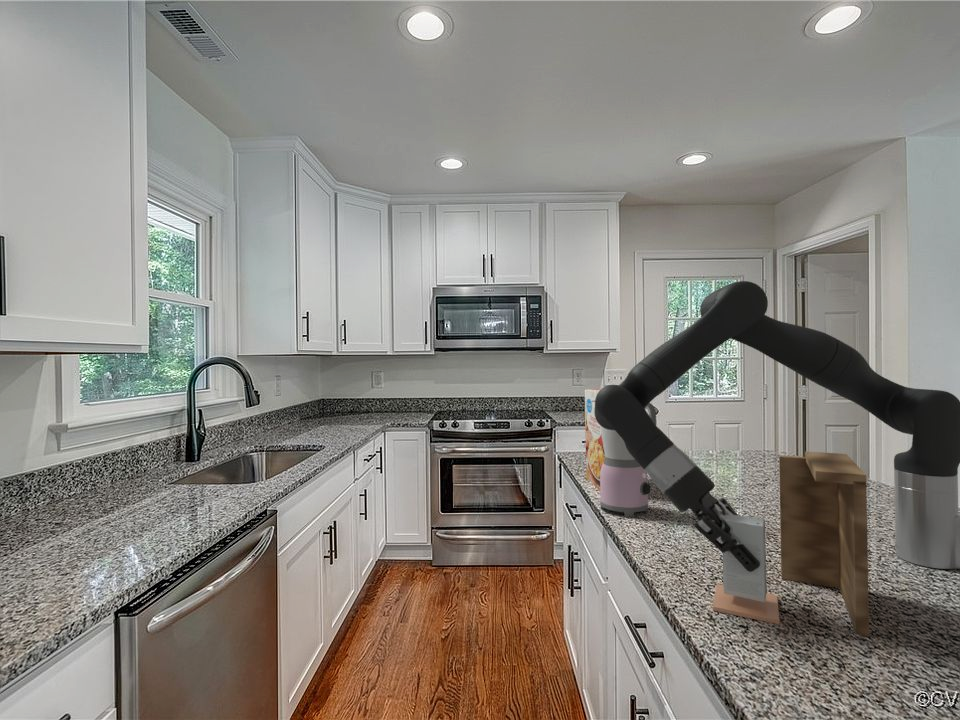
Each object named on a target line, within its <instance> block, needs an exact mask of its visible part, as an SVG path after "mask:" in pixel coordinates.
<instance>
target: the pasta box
mask: <svg viewBox="0 0 960 720" xmlns="http://www.w3.org/2000/svg"><path fill="white" fill-rule="evenodd" d="M601 389H602V388H601ZM601 389H599V388H598V389H597V388H596V389H595V388H594V389H584V418H585V419H584V421H585V423H584V425H585V426H584V427H585V428H584V429H585V431H584V432H585V478H586V479H587V480H588V481H589V482H590V483H591V484H592V485H593V486H594V487H595V488H596V489H597V490H598V491H599V492H600V471H601V467H602V465H603V463H604V459H605V452H604V447H603V441H602V435H601V426H600V425H599V423H598V422H597V420H596V418H595V413H594V409H595V399H596V396H597V394H598V392H599V391H600V390H601Z"/></svg>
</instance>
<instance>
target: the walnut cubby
mask: <svg viewBox="0 0 960 720" xmlns="http://www.w3.org/2000/svg"><path fill="white" fill-rule="evenodd" d="M778 463H779V464H778V467H779V469H778V470H779V472H778V475H779V479H778V480H779V516H780V517H779V520H780V521H779V522H780V523H779V526H780V527H779V528H780V532H779V533H780V575H781V576H780V577H782V578H781V579H783V580H787V579H788V580H789V581H793V582H801V583H805V584H810V583H811V584H812V585H815V586H823V587H828V588H829V587H830V588H834V587H835V588H836V589H839V588H840V589H839V591H840V594H841V596H842V599H843V602H844V604H845V608H846V610H847V613H848V616H849V618H851V619H850V622H851V624H852V627H853V629H854V632H855V635H859V636H864V637H870V606H869V603H870V599H869V559H868V558H869V556H868V555H869V554H868V553H869V552H868V551H869V550H868V504H867V503H868V501H867V500H868V497H867V496H868V495H867V493H868V492H867V474H866V473H865V472H864V471H863V469H861V468H860V467H859V466H858V465H857V463H855V462H854V460H853V459H852V458H851V457H850V456H849V455H848V454H847V453H836V452H835V453H834V452H822V451H821V452H820V451H818V452H817V451H804V456H797V455H796V456H795V455H783V454H781V455H778Z"/></svg>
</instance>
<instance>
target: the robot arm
mask: <svg viewBox="0 0 960 720" xmlns="http://www.w3.org/2000/svg"><path fill="white" fill-rule="evenodd" d="M768 305H769V302H768V297H767V294H766V292H765V291H764V289H763V288H762V287H761V286H759V284H756V283H754V282H752V281H747V280H740V281H739V280H738V281H734V282H731V283H729V284H726V285H725V286H722V287H720V288H719V289H718V288H717V289H715V290H714V291H712V292H711V293H709V294H708V295H707V296H705V297H704V298H703V300H702V302H701V303H700V308H699V309H700V311H699V312H700V316H701V317H700V318H698V320H696V321H694V322H693V323H692V324H691V325H690V326H687V328H685V329H684V330H682V331H681V332H679V333H678V334H676V335H675V336H673V337H672V338H670V339H668V340H667V341H665V342H664V343H662V344H661V345H660V346H658V347H657V348H655V349H654V350H653V351H651V352H650V353H649V354H647V355H646V356H645V357H644V358H643V359H642V360H640V361H639V362H638V363H637V364H635V365H634V366H633V367H632V368H631V370H630V371H629V372H628V374H627V376H626V377H625V379H624V380H623V381H622V382H620V383H619V384H618V385H617V384H609V385H605V386H603V387H602V388H601V390H600V391H599V392H598V394H597V396H596V399H595V409H594V413H595V418H596V420H597V422H598V423H599V425H600V426H602V427H603V428H605V429H608V430H615V431H616V432H617V433H618V434H619V436H620V437H621V438H622V439H623V440H624V442H625V445H626V448H627V450H628V451H629V453H630V454H631V455H632V456H633V458H634V459H635V460H636V461H637V462H638V463H639V464H640V466H641V467H642V468H643V469H645V471H646V472H647V476H649V478H650V480H651V481H652V482H653V483H654V484H655V486H657V488H658V489H659V490H660V491H661V492H662V493H663V494H664V495H665V496H666V498H667V499H668V500H669V501H670V503H672V505H674V507H675V508H676V509H677V510H678V511H679V512H681V513H685V512H686V511H688V510H691V512H692V513H693V515H694V516H695V517H696V520H697V522H695V523H694V524H693V525H694V528H695V529H696V530H697V531H698V532H699V533H701V535H702V536H704V537H705V538H706V539H707V540H708V542H710V543H711V544H712V545H714V546H715V548H717V549H718V550H719V551H720V552H721V553H722V554H723V553H725V552H726V551H727V552H728V553H730V552H731V553H732V554H733V555H734V557H735V558H736V559H737V560H738V561H739V562H740V563H741V564H742V565H743V566H744V568H745V569H746V570H747V571H749V572H752V571H754V570H755V569H757V568H758V567H759V566H760V562H759V561H758V560H757V559H756V558H755V557H754V556H753V554H752V553H751V552H750V551H749V550H748V549H747V548H746V547H745V546H744V545H743V544H742V543H741V541H740V540H739V539H738V538H737V536H736V535H735V534H734V533H733V532H732V530H733V528H732V527H731V526H730V525H729V523H728V522H727V521H726V517H725V515H738V516H739V514H737V512H736V511H735V510H734V508H733V507H732V506H731V505H730V503H729V502H728V501H727V500H726V499H725V497H721V498H720V499H717V498H716V497H715V496H713V494H712V493H710V492H711V491H712V490H713V489H714V488H715V487H716V485H715V482H713V481H712V479H711V478H710V477H709V476H708V475H707V474H705V472H704V471H703V470H702V469H701V468H700V467H699V466H698V465H697V464H696V463H695V462H694V461H693V460H692V458H690V457H689V456H688V454H687V453H685V452H684V450H682V449H681V448H679V447H678V446H677V444H675V443H674V442H673V441H672V440H671V438H669V437H668V435H666V434H665V432H663V431H662V430H661V429H660V427H658V426H657V424H656V425H655V424H654V422H653V421H652V419H651V418H650V416H649V412H647V411H646V408H645V407H646V406H647V405H648V404H649V403H651V402H652V401H653V400H654V399H656V398H657V397H658V396H660V395H661V394H662V393H663V392H665V391H666V390H667V389H668V388H670V386H671V385H673V384H674V383H676V381H677V380H679V379H680V378H681V377H682V376H683V375H685V374H686V373H687V372H688V371H689V370H691V369H692V368H693V367H694V366H695V365H697V363H699V362H700V361H701V360H703V359H704V358H705V357H706V356H708V355H709V354H710V353H711V352H712V351H714V350H715V349H717V348H718V347H720V346H721V345H722V344H724V343H726V342H727V341H729V340H730V339H732V340H733V341H736V342H738V343H741V344H743V345H745V346H748V347H749V348H750V347H751V348H752V349H754V350H756V351H757V352H760V353H762V354H764V355H765V356H767V357H768V358H770V359H771V360H774V361H775V362H778V363H780V364H781V365H783V366H785V367H787V368H788V369H790V370H791V371H792V372H793V371H794V372H795V373H796V374H798V375H800V376H802V377H804V378H806V379H807V380H809V381H811V382H813V383H814V384H816V385H817V386H820V387H822V388H824V389H826V390H828V391H830V392H832V393H834V394H836V395H837V396H840V397H842V398H843V399H845V400H846V399H847V400H848V401H850V402H853V403H854V404H855V405H858V406H859V407H861V408H863V409H864V410H865V411H868V412H869V413H870V414H872V415H873V416H874V417H875V418H877V419H879V420H880V421H881V422H882V423H884V424H886V425H887V426H888V427H890V428H891V429H893V430H896V431H897V432H900V433H902V434H906V435H912V441H911V446H910V448H909V449H908V450H907V451H903V452H899V453H897V454H895V455H894V459H893V471H894V475H893V477H894V478H893V479H894V525H895V526H894V531H895V532H894V534H895V535H894V536H895V538H894V539H895V542H894V543H895V544H894V545H895V555H896V556H897V557H898V558H900V559H901V560H903V561H905V562H908V563H912V564H914V565H919V566H921V567H927V568H934V569H942V570H952V569H953V570H954V569H956V570H957V569H959V570H960V515H959V482H958V478H959V477H958V476H959V475H958V474H959V472H958V471H959V465H960V400H959V398H958V397H957V396H956V395H954V394H953V393H951V392H949V391H946V390H942V389H941V390H938V389H923V388H912V387H908V386H904V385H902V384H899V383H897V382H894V381H892V380H890V379H888V378H886V377H884V376H882V375H880V374H879V373H877V372H876V371H875V370H873V368H872V367H871V366H870V364H869V362H868V361H867V359H865V358H864V356H863V355H862V354H861V353H860V352H859V351H858V350H857V349H855V348H853V347H852V346H850V345H849V344H847V343H845V342H843V341H842V340H840V339H837V338H836V337H834V336H833V335H830V334H828V333H826V332H823V331H820V330H816V329H812V328H809V327H805V326H802V325H797V324H793V323H790V322H783V321H780V320H778V319H775V318H772V317H770V316H768V315H766V313H767V312H768V311H767V310H768V307H769V306H768ZM722 523H723V524H724V526H725V528H724V529H723V530H722ZM723 538H724V539H725V540H726V541H724V539H723Z"/></svg>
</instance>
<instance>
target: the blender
mask: <svg viewBox="0 0 960 720" xmlns="http://www.w3.org/2000/svg"><path fill="white" fill-rule="evenodd" d="M644 409H645V410H647V411H648V415H649V416H650V418H651V419H652V421H653V422H654V424H655V425H656V426H657V412H656V411H657V410H656V407H655V406H654V405H653V404H652V403H651V402H650V403H649V404H648V405H647V406H646V407H645V408H644ZM601 435H602V441H603V447H604V452H605V459H604V463H603V465H602V467H601V471H600V491H599V492H600V499H599V500H600V501H599V502H600V503H599V505H600V509H601V510H604V509H606V510H608V511H613V512H619V513H624V517H626V518H633V517H634V513H638V512H644V513H649V512H648V511H649V501H648V500H649V497H648V496H649V495H650V493H651V491H652V488H651V487H652V486H651V484H650V483H648V482H649V481H648V480H649V479H648V474H647V472H646V471H645V469H643V468H642V467H641V466H640V464H639V463H638V462H637V461H636V460H635V459H634V458H633V456H632V455H631V454H630V453H629V451H628V450H627V448H626V445H625V442H624V440H623V439H622V438H621V437H620V436H619V434H618V433H617V432H616V431H615V430H608V429H605V428H603V427H602V426H601Z"/></svg>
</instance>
